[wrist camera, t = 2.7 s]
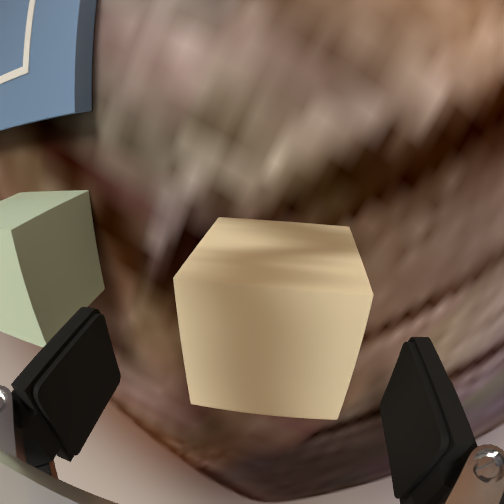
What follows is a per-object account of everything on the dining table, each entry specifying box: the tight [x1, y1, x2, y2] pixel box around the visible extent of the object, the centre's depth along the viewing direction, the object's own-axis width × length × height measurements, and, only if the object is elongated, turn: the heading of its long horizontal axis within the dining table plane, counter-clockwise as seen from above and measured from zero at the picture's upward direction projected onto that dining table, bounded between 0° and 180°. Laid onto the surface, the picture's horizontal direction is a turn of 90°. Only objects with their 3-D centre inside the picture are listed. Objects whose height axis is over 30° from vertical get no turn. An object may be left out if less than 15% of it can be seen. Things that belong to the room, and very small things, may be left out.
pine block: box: [173, 217, 373, 420], centre depth 11 cm, size 5×5×5 cm
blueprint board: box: [0, 0, 97, 131], centre depth 9 cm, size 12×11×1 cm
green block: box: [0, 190, 105, 347], centre depth 12 cm, size 5×5×5 cm
